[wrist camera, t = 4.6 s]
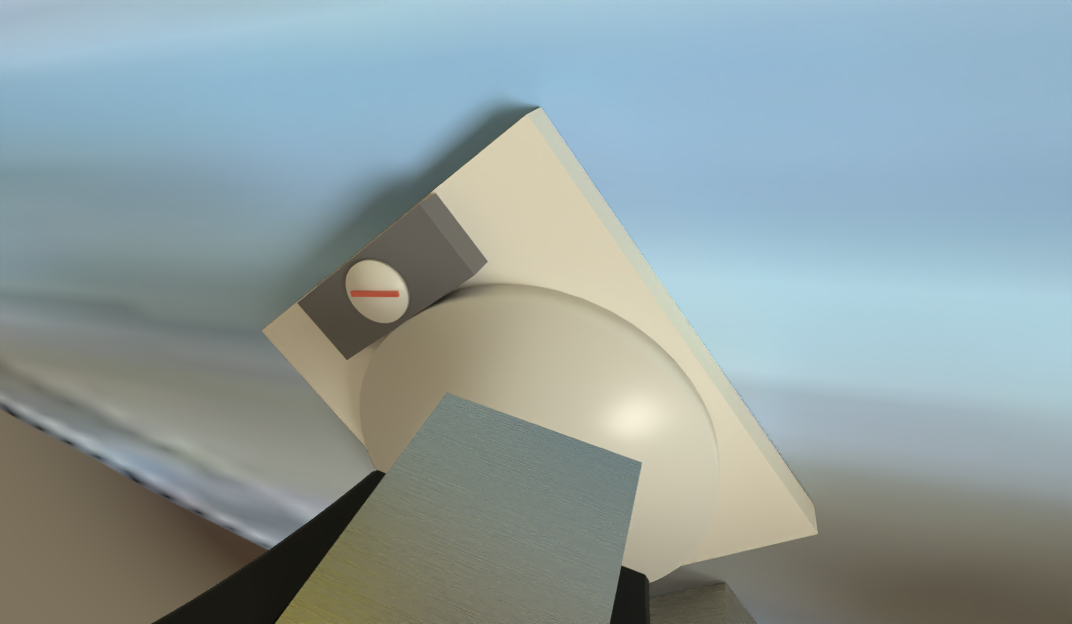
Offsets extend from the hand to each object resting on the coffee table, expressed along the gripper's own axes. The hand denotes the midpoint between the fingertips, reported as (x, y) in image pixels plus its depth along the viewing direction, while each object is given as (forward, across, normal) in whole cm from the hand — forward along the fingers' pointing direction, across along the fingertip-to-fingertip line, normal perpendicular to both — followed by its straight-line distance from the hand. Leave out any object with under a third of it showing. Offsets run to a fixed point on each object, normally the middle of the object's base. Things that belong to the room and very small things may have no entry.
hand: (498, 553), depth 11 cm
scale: (+8, +2, +4) cm, 9 cm away
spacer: (+2, 0, 0) cm, 2 cm away
